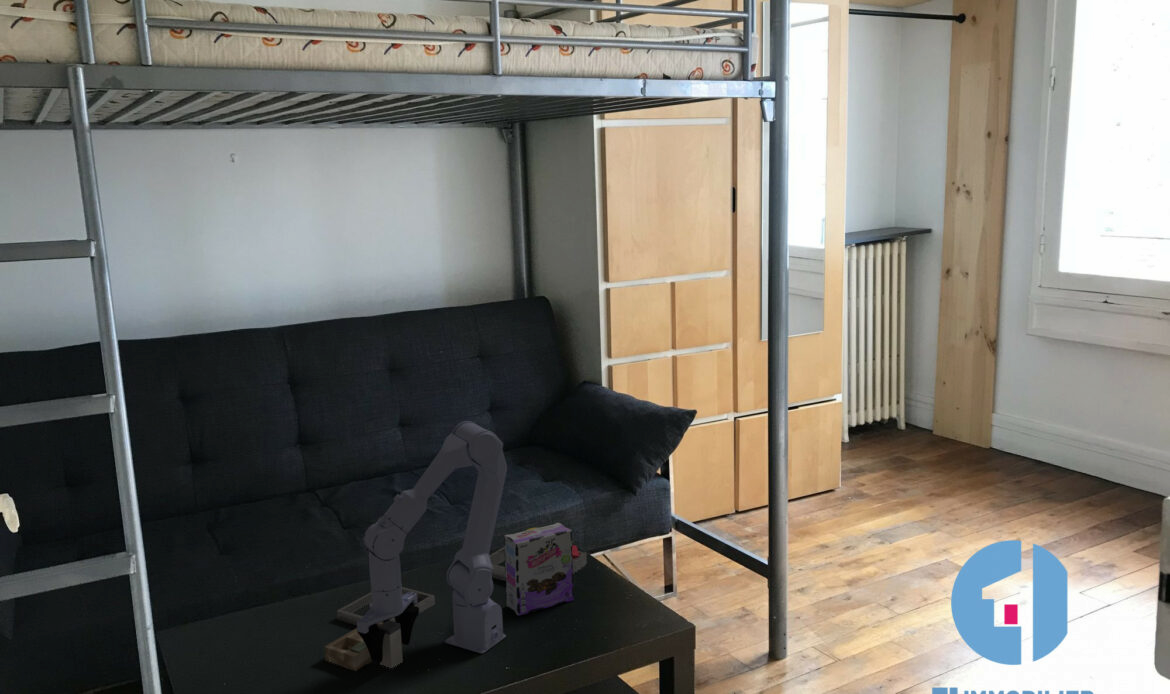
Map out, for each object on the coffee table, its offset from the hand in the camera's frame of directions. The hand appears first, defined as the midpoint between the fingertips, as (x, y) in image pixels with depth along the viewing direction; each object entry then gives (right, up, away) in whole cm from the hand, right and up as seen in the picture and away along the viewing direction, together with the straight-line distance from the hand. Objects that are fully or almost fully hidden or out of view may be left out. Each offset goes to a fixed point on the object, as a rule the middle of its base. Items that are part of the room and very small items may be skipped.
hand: (390, 651), depth 183 cm
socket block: (-6, -2, +5) cm, 8 cm away
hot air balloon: (+28, +6, +42) cm, 51 cm away
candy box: (+28, +3, +24) cm, 37 cm away
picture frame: (-5, +2, +22) cm, 23 cm away
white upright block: (0, -2, 0) cm, 2 cm away
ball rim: (+25, +6, +42) cm, 49 cm away
